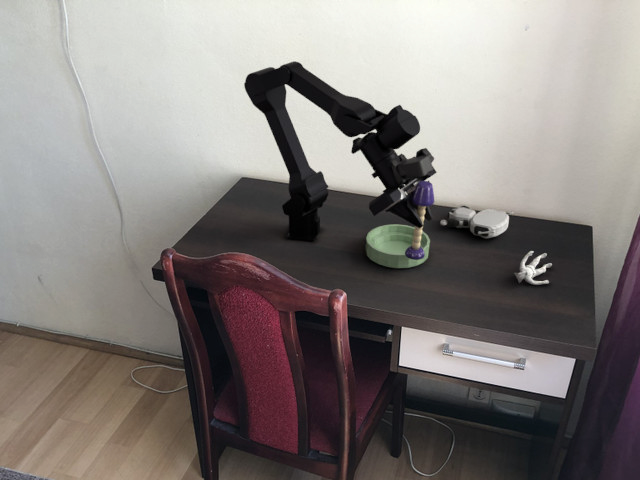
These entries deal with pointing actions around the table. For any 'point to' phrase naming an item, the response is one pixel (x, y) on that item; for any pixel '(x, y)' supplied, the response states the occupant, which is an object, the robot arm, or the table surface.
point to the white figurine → (532, 270)
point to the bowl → (394, 245)
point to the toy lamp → (422, 199)
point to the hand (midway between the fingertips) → (426, 223)
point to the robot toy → (478, 221)
